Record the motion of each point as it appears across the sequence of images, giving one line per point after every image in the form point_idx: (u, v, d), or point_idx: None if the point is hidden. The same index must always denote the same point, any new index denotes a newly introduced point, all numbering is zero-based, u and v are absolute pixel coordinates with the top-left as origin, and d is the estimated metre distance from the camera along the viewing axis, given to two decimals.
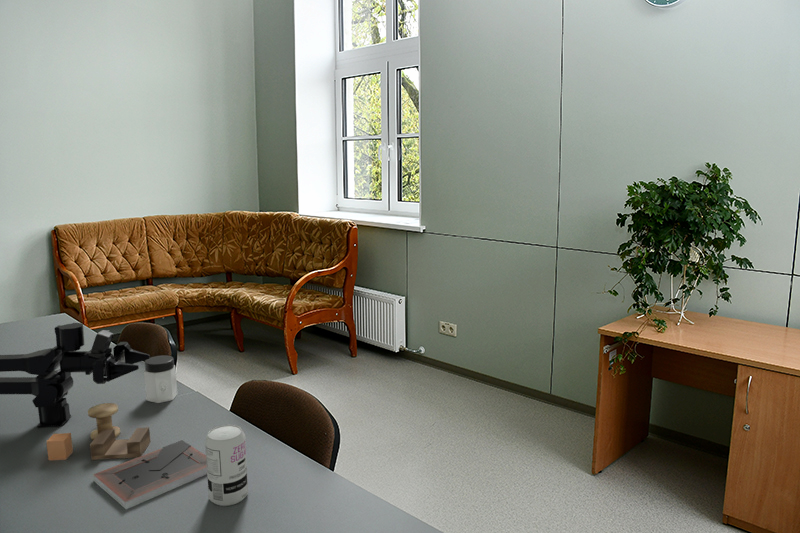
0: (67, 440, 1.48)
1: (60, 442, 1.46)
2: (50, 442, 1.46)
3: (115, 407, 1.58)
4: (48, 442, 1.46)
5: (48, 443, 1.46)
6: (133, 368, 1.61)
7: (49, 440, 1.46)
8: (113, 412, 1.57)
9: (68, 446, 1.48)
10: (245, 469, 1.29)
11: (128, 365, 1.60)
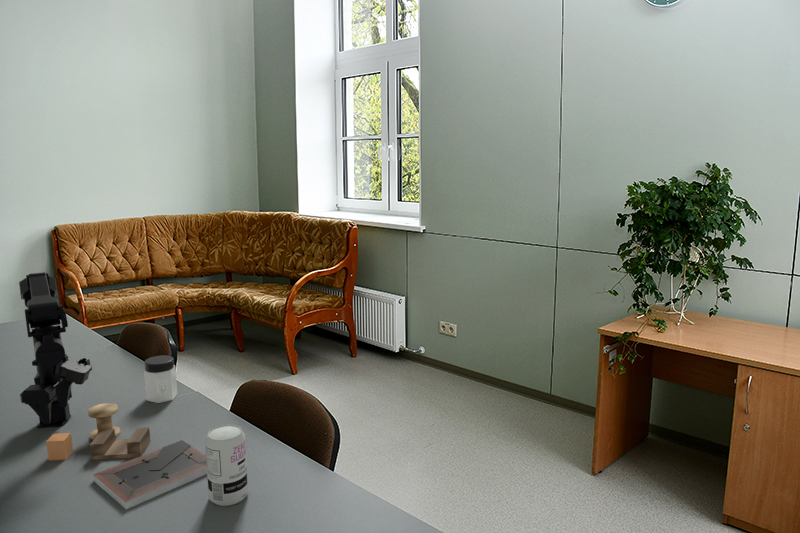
0: (67, 440, 1.48)
1: (60, 442, 1.46)
2: (50, 442, 1.46)
3: (115, 407, 1.58)
4: (48, 442, 1.46)
5: (48, 443, 1.46)
6: (45, 420, 1.42)
7: (49, 440, 1.46)
8: (113, 412, 1.57)
9: (68, 447, 1.48)
10: (245, 469, 1.29)
11: (48, 415, 1.41)
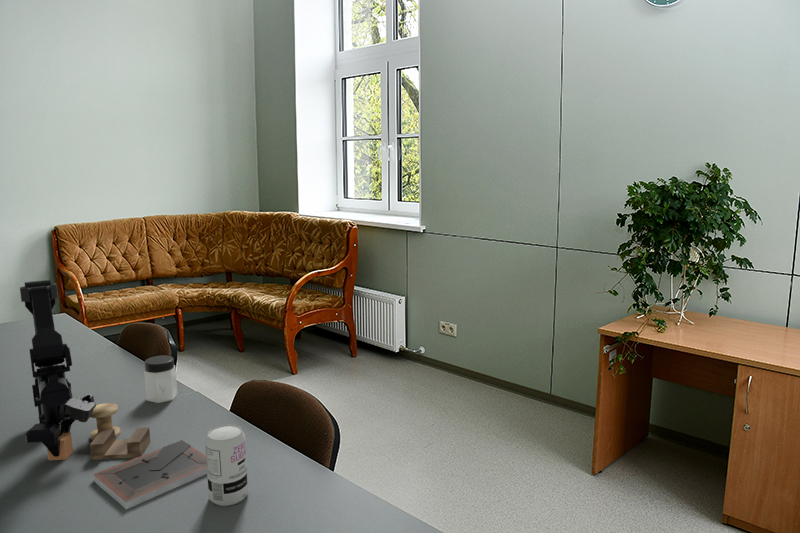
0: (67, 439, 1.48)
1: (60, 442, 1.46)
2: None
3: (115, 407, 1.58)
4: None
5: None
6: (54, 453, 1.46)
7: None
8: (113, 412, 1.57)
9: (68, 446, 1.48)
10: (245, 469, 1.29)
11: (57, 448, 1.45)
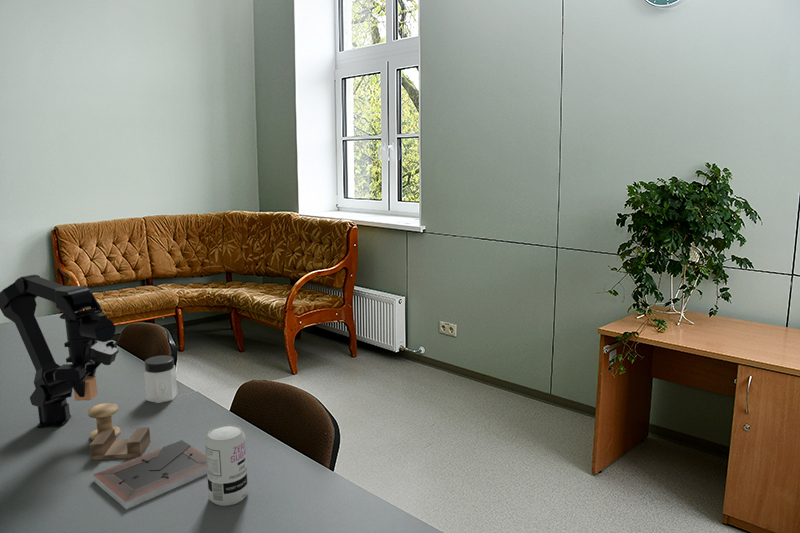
0: (92, 382, 1.58)
1: (85, 383, 1.56)
2: None
3: (115, 407, 1.58)
4: None
5: None
6: (80, 393, 1.56)
7: None
8: (113, 412, 1.57)
9: (92, 388, 1.58)
10: (245, 469, 1.29)
11: (82, 389, 1.55)
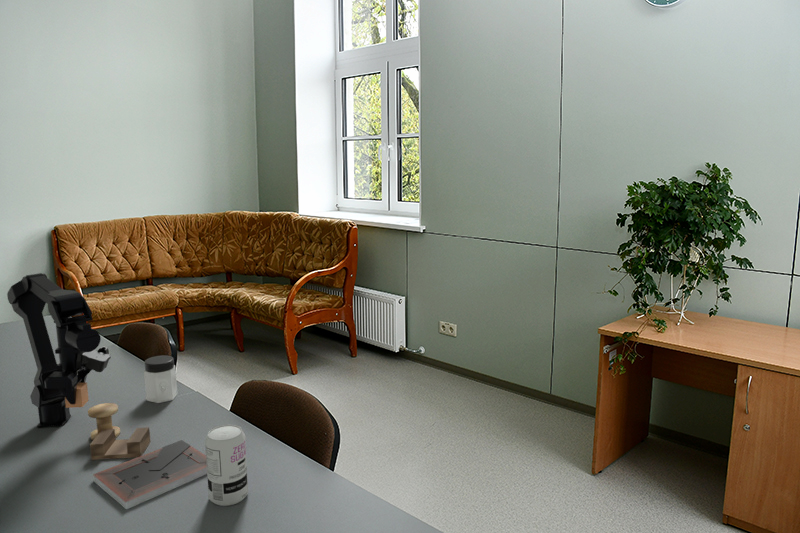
0: (83, 388, 1.55)
1: (77, 390, 1.53)
2: None
3: (115, 407, 1.58)
4: None
5: None
6: (71, 400, 1.53)
7: None
8: (113, 412, 1.57)
9: (84, 395, 1.55)
10: (245, 469, 1.29)
11: (74, 396, 1.52)
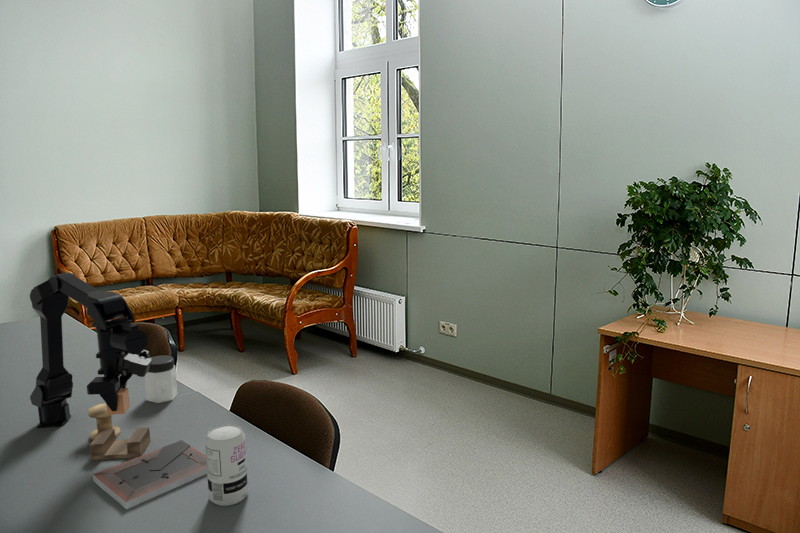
0: (125, 394, 1.48)
1: (119, 396, 1.47)
2: None
3: None
4: None
5: None
6: (112, 407, 1.46)
7: None
8: None
9: (125, 401, 1.49)
10: (245, 469, 1.29)
11: (115, 403, 1.46)
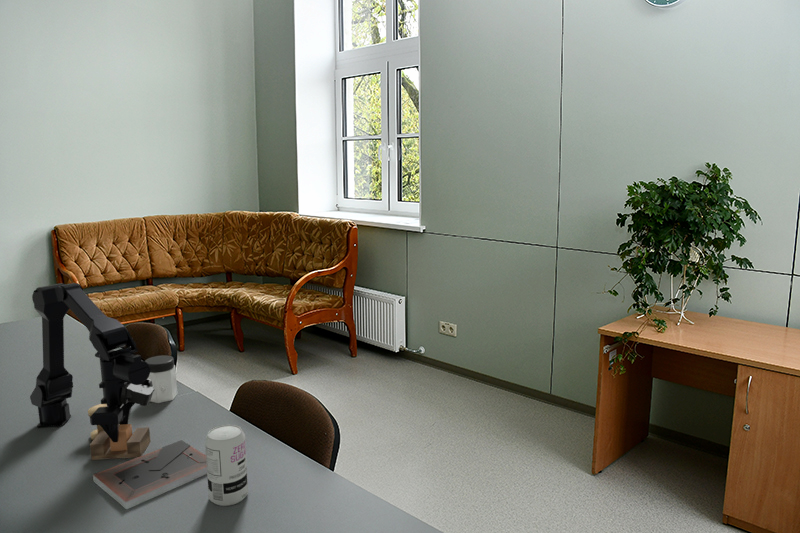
0: (128, 431, 1.50)
1: (122, 433, 1.48)
2: None
3: None
4: None
5: None
6: (113, 438, 1.46)
7: None
8: None
9: (129, 437, 1.50)
10: (245, 469, 1.29)
11: (116, 434, 1.46)
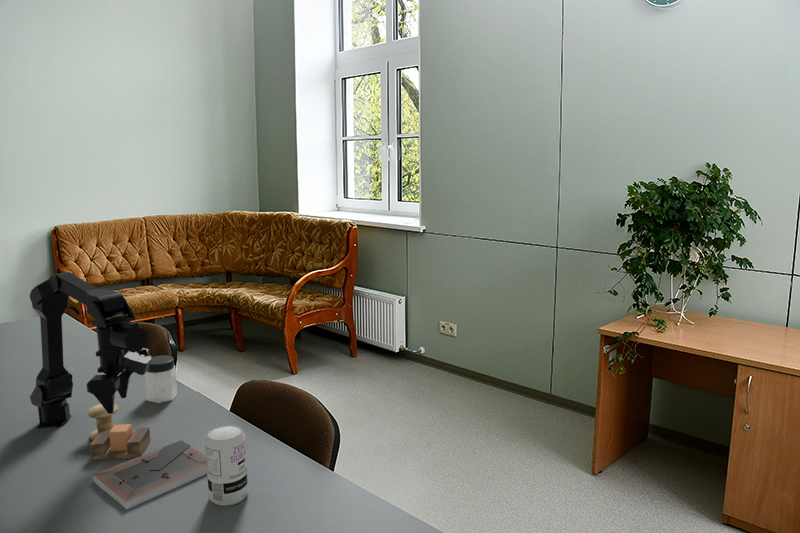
0: (128, 431, 1.50)
1: (122, 433, 1.48)
2: (113, 433, 1.48)
3: (115, 407, 1.58)
4: (110, 433, 1.48)
5: (111, 434, 1.48)
6: (108, 409, 1.44)
7: (112, 431, 1.48)
8: (113, 412, 1.57)
9: (129, 437, 1.50)
10: (245, 469, 1.29)
11: (112, 405, 1.43)
